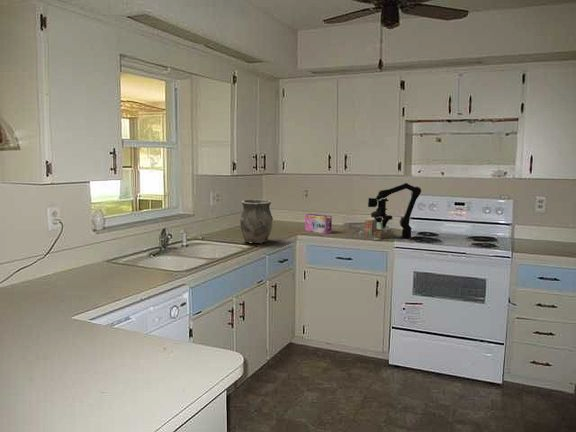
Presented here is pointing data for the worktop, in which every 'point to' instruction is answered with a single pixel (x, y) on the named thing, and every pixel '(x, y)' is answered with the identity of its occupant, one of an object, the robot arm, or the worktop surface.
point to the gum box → (318, 223)
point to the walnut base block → (381, 234)
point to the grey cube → (388, 230)
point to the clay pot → (256, 220)
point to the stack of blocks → (371, 226)
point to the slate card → (375, 239)
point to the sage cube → (380, 226)
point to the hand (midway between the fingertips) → (381, 227)
